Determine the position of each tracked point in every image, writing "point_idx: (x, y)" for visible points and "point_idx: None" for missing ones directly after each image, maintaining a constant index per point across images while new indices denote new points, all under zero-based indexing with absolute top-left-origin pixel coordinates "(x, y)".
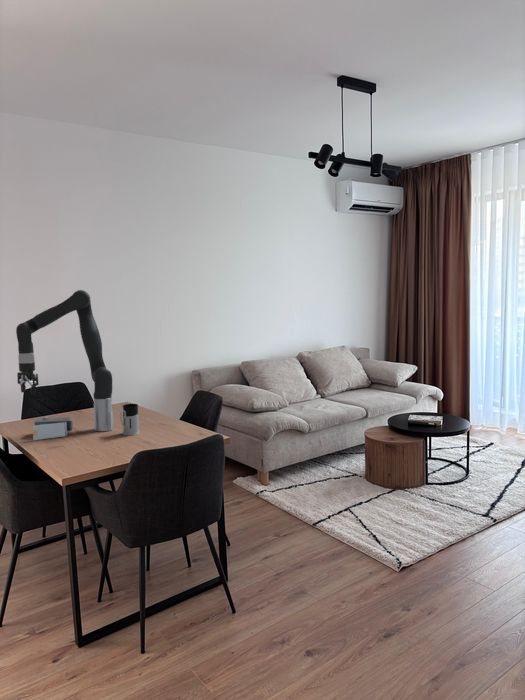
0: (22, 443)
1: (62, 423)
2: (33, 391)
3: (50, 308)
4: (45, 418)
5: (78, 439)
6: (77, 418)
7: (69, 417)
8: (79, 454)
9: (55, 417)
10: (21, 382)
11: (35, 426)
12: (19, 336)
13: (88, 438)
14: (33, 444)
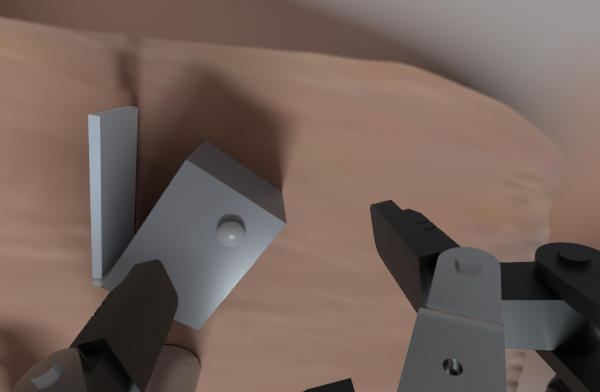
0: (108, 40)
1: (93, 266)
2: (105, 300)
3: None
4: (217, 230)
5: (48, 261)
6: (404, 354)
7: (188, 324)
8: None
9: (230, 278)
10: (450, 306)
11: (91, 129)
12: None
13: (45, 293)
14: (52, 77)
